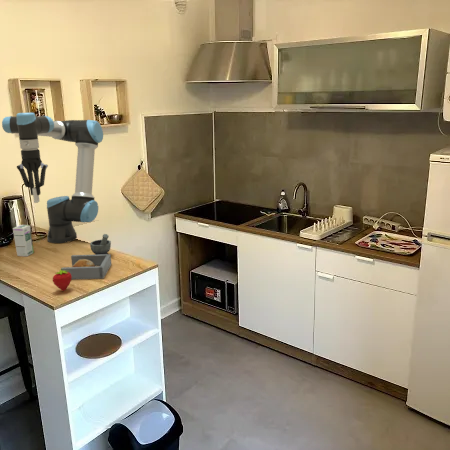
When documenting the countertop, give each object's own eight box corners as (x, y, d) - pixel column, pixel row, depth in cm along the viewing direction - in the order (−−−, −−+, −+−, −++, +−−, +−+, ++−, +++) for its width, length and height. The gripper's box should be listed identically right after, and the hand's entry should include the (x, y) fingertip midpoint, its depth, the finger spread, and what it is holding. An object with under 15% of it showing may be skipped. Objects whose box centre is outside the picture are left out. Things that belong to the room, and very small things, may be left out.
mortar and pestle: (87, 256, 222) (85, 232, 219) (104, 251, 229) (102, 228, 226) (100, 261, 215) (98, 237, 212) (117, 256, 222) (115, 232, 218)
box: (73, 265, 211) (71, 255, 209) (111, 264, 211) (110, 254, 210) (62, 279, 194) (60, 268, 193) (103, 278, 195) (102, 267, 194)
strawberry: (51, 291, 183) (48, 268, 180) (68, 285, 188) (66, 263, 185) (58, 295, 179) (55, 271, 176) (76, 289, 184) (73, 266, 181)
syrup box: (27, 256, 223) (23, 228, 219) (16, 256, 224) (12, 227, 220) (34, 252, 228) (30, 224, 224) (23, 252, 229) (19, 224, 225)
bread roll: (98, 278, 205) (100, 260, 206) (88, 277, 195) (90, 258, 196) (78, 277, 206) (80, 259, 208) (66, 275, 197) (68, 257, 198)
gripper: (11, 150, 195) (18, 204, 201) (42, 149, 195) (48, 203, 202) (18, 148, 202) (25, 200, 209) (48, 147, 203) (54, 200, 209)
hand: (36, 202), depth 205 cm, fingers closed
